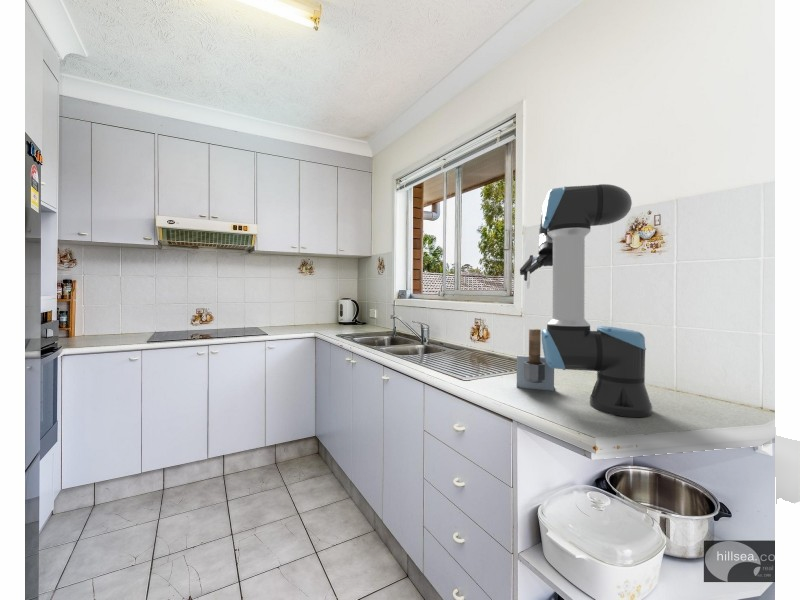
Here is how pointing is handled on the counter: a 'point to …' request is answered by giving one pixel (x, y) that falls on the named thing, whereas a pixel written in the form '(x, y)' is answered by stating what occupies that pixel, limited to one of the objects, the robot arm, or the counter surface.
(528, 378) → the cup bracket
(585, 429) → the counter surface
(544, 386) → the wall board
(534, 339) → the rail post
